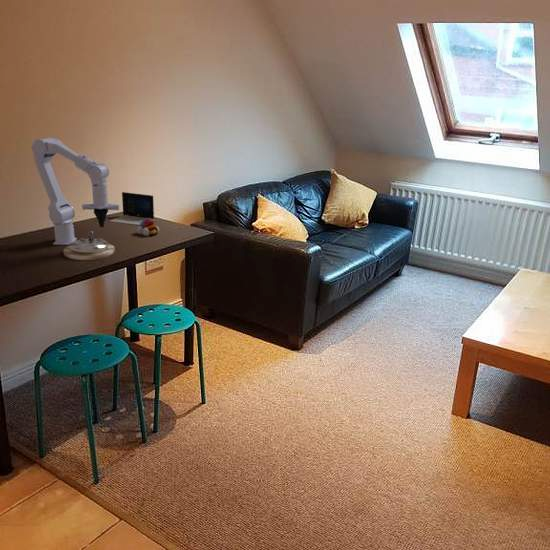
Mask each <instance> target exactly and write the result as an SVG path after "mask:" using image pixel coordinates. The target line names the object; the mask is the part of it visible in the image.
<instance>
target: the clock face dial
mask: <svg viewBox="0 0 550 550" xmlns="http://www.w3.org/2000/svg"><path fill="white" fill-rule="evenodd" d="M87 233H88V234H87V235H88V238H85V237H82V238H80V239H76V240H75V241H74V242H70V243H69V245H68V246H70V251H71V252H73V253H77V254H95V253H101V252H104V251H106V250H107V249H108V244H109V241H107V240H105V239H103V238H102V237H101V238H100V237H98V238H94V231H93V230H89V231H88V232H87Z"/></svg>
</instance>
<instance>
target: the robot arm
mask: <svg viewBox="0 0 550 550" xmlns="http://www.w3.org/2000/svg"><path fill="white" fill-rule="evenodd" d="M31 149H32V153H33V156H34V157H33V158H34V159H33V160H34V163H35V166H36V169H37V171H38V174H39V176H40V179H41V181H42V183H43V186H44V188H45V192H46V195H47V197H48V198H49V199H48V200H49V204H48V208H47V211H48V215H49V219H50V221H51V222H52V224H53V227H54V236H55V241H54V242H53V243H52V245H56V246H57V245H59V246H60V245H63V246H64V245H65V246H67V245H68V246H70V245H69V243H70V242H74V241H77V240H78V238H77V237H75V228H74V223H73V219H74V217H75V215H76V212H75V211H76V210H75V209H74V207H73V206H72V205H71V204H70V201H69V200H67V199H65V198H64V195H63V193H62V191H61V188H60V185H59V182H58V181H57V178H56V177H57V176H56V175H55V173H54V169H53V167H52V165H51V164H52V163H51V161H52V158H53V157H54V156H55V155H56V154H58V155H60V156H62V157H64V158H66V159H68V160H69V161H71V162H73V164H74V166H75V167H76V168H78V169H80V170H81V171H82V172H84V173H86V174H87V175H88V178H90V183H91V189H92V191H91V192H92V203H86V204H85V203H83V204H82V205H81V208H82V210H83V211H85V210H93V214H94V215H95V217H96V220H97V221H98V224H99V228H104V227H105V222H106V218H107V216H108V215H107V214H108V212H109V211H110V210H111V211H119V210H120V204H112V203H108V202H109V201H108V186H107V185H108V184H107V182H108V181H107V178H108V177H109V174H110V172H109V171H110V170H109V168H108V167H107V165H105V164H104V163H98V162H97V161H94V160H93V159H91V158H90V157H89V156H88V155H87V154H78V153H77V152H75V150H72V149H71V148H69V147H68V146H66V145H65V144H64V143H63V142H62V141H61V140H59V139H58V138H57V137H48V138H47V137H46V138H45V137H44V138H37V139H35V140H34V141H33V143H32V145H31Z"/></svg>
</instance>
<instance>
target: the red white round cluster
mask: <svg viewBox="0 0 550 550" xmlns="http://www.w3.org/2000/svg"><path fill="white" fill-rule="evenodd" d="M154 223H155V222H154V220H153V221H152V220H149V219H148V218H146V219H144V220H143V221H141V222H140V225H137V227H136V233H137V234H138V235H143V236H144V237H148V236H150V235H158V234H159V232H160V227H159V226H157V224H154Z"/></svg>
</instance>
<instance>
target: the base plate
mask: <svg viewBox="0 0 550 550" xmlns="http://www.w3.org/2000/svg"><path fill="white" fill-rule="evenodd" d="M115 252H116V249H115V246H114V245H113V244H111V243H108V249H107V250H106V251H104V252H101V253H95V254H77V253H73V252H71V251H70V245H68V246H67V245H66V247H64V249H63V255H64V257H65V258H67V259H70V260H76V261H94V260H95V261H96V260H102V259H106V258H108V257H111V256H112V255H114V254H115Z"/></svg>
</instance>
